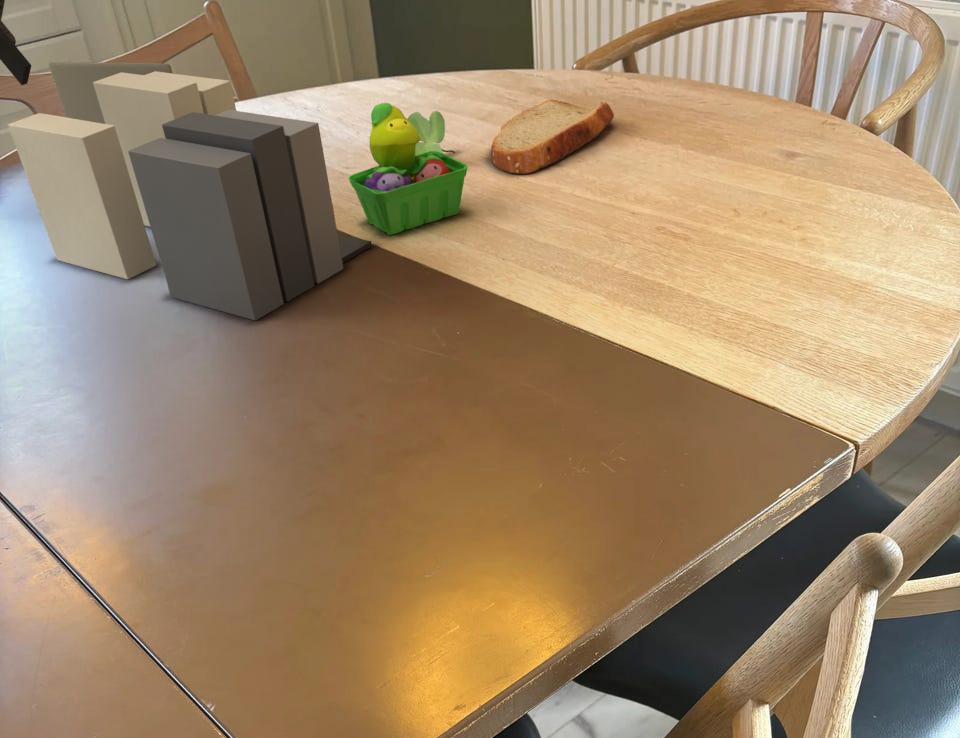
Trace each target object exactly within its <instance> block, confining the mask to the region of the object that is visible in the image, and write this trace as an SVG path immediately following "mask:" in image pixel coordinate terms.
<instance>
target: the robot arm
mask: <svg viewBox="0 0 960 738" xmlns="http://www.w3.org/2000/svg"><path fill="white" fill-rule="evenodd" d="M5 1H6V0H0V61H1V62H2V64H3V65H4V66H5V67H6V69H7V70H8V71H9V72H10V73H11V75H12V76H13V77H14V78H15V79H16V81H17V82H18V83H19V85H21V86H24V85H27V84H28V82H29V79H30V73H31V69H32V64H31V62H30V61H29V60H28V59H27V58H26V57H25V56H24V54H23V53H22V52H21V51H20V49H19V48H18V47H17V46H16V43H17V39H16V37H15V36H14V34H13V33H12V32H11V30H10V29H9V28H8V26H6V24H5V23H4V22H3V20H2V18H3V14H4V8H5Z"/></svg>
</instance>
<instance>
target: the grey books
mask: <svg viewBox="0 0 960 738" xmlns="http://www.w3.org/2000/svg"><path fill="white" fill-rule="evenodd" d="M162 127H163V131H164V135H165V138H166V139H165V138H158V139H156V140H154V141H151V142H149V143H146V144H144V145H141V146H139V147H136V148H134V149H132V150H129V151H128V153H129V156H130V160H131V163H132V166H133V170H134V173H135V177H136V180H137V183H138V187H139V190H140V193H141V197H142V200H143V203H144V207H145V210H146V214H147V217H148V220H149V224H150V227H149V228H150V231H151V234H152V237H153V241H154V243H155V247H156V250H157V254H158V257H159V261H160V264H161V268H162V271H163V274H164V278H165V280H166V284H167V288H168V291H169V295H170V297H171V298H174V299H177V300H181V301H184V302H187V303H191V304H194V305H198V306H202V307H205V308H208V309H212V310H215V311H219V312H223V313H227V314H230V315H234V316H236V317H241V318H243V319H247V320H252V321H255V322H256V321H258V320H259V319H262V318H263V317H264V316H267V314H270V313H271V312H273V311H274V310H277V309H278V308H280V307H281V306H283V305H284V302H287V303H288V302H290V301H292V300H293V299H295V298H297V297H298V296H300V295H301V294H303V293H305V292H307V291H309V290H311V289H312V288H314V287H315V284H316V285H319V284H320V283H322V282H324V281H325V280H327V279H329V278H330V277H333V276H334V275H336V274H338V273H339V272H341V271H342V270H344V263H346V262H348V261H350V260H352V259H353V258H355V257H357V256H359V255H360V254H362V253H363V252H366V251H367V250H369V249H370V248H372V247H373V243H372V241H371V240H367V239H363V238H357V237H353V236H349V235H343V234H339V233H338V229H337V223H336V217H335V212H334V205H333V201H332V195H331V189H330V188H331V187H330V183H329V177H328V176H329V175H328V170H327V166H326V159H325V153H324V148H323V142H322V136H321V130H320V123H318V122H315V121H307V120H301V119H294V118H288V117H287V118H286V117H281V116H274V115H267V114H261V113H253V112H247V111H240V110H236V111H234V110H227V111H225V112H222V113H220V114H217V115H215V116H214V115H208V114H201V113H195V112H192V113H189V114H187V115H184V116H182V117H179V118H177V119H174V120H172V121H169V122H167V123H164V124H162Z"/></svg>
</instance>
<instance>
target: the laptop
mask: <svg viewBox="0 0 960 738" xmlns="http://www.w3.org/2000/svg"><path fill="white" fill-rule="evenodd" d="M48 67H49V70H50V73H51V76H52V79H53V82H54V86H55V89H56V93H57V95H58V98H59V100H60V104H61V107H62V110H63V113H64V117H66V118H72V119H78V120H84V121H90V122H96V123H102V124H105V121H104V117H103V114H102V111H101V107H100V104H99V101H98V98H97V94H96V91H95V88H94V85H93V82H95V81H98V80H101V79H104V78H107V77H110V76H112V75H115V74H118V73H121V72H122V73H130V74H137V75H146V74H149V73H152V72H155V71H157V72H164V73H172V74H174V73H173V70H172V66H171V64H169V63H165V62H163V63H159V62H158V63H157V62H96V61H95V62H91V61H90V62H88V61H87V62H86V61H85V62H82V61H49V62H48Z"/></svg>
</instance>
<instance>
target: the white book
mask: <svg viewBox="0 0 960 738" xmlns="http://www.w3.org/2000/svg"><path fill="white" fill-rule="evenodd" d="M7 127H8V129H9V132H10V134H11V138H12V141H13V143H14V146H15V149H16V152H17V154H18V156H19V159H20V162H21V165H22V168H23V170H24V173H25V176H26V179H27V181H28V184H29V187H30V189H31V190H30V191H31V192H32V195H33V197H34V201H35V203H36V205H37V210H38V212H39V214H40V216H41V220H42V222H43V225H44V227H45V231H46V233H47V236H48V239H49V242H50V244H51V247H52V249H53V252H54V255H55V259H56V260H57V261H59V262H62V263H66V264H70V265H73V266H77V267H81V268H85V269H88V270H91V271H96V272H99V273H102V274H106V275H110V276H112V277H117V278H120V279H124V280H130V279H132V278H135V277H136V276H138V275H140V274H142V273H144V272H146V271H149V270H150V269H152V268H154V267H156V266H157V263H156V259H155V255H154V253H153V249H152V246H151V242H150V239H149V236H148V232H147V229H146V226H145V225H144V222H143V219H142V216H141V212H140V209H139V206H138V202H137V199H136V196H135V192H134V189H133V186H132V182H131V179H130V176H129V172H128V169H127V166H126V162H125V159H124V156H123V152H122V149H121V146H120V142H119V139H118V136H117V132H116V129H115V126H114V125H108V124H102V123H96V122H90V121H84V120H78V119H72V118H66V116H59V115H55V114H48V113H42V112H38V113H36V114H32V115H30V116H27V117H24V118H22V119H19V120H15V121H13V122H11V123H10V122H9V123H8V124H7Z"/></svg>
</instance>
